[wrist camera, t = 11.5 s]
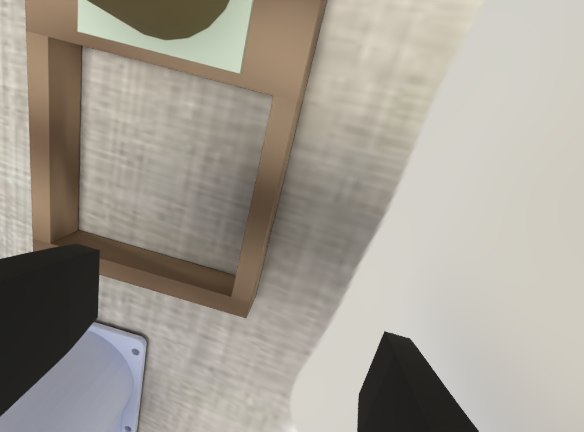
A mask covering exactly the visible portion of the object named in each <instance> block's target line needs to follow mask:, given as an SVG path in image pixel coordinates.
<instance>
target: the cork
mask: <svg viewBox="0 0 584 432" xmlns="http://www.w3.org/2000/svg"><path fill="white" fill-rule="evenodd" d="M87 1H89V2H91V3H92V4H94V5H95V6H97V7H99V8H100V9H102V10H104V11H105V12H107V13H109V14H110V15H112V16H114V17H115V18H117V19H119V20H120V21H122V22H124V23H125V24H127V25H129V26H130V27H132V28H134V29H135V30H137V31H139V32H140V33H142V34H144V35H147V36H151V37H155V38H158V39H162V40H176V39H185V38H189V37H191V36H193V35H195V34H197V33H199V32H201V31H203V30H205V29H207V28H209V27H210V26H211V24H212V23H213V22H214V21H215V20H216V19H217V18H218V17H219V16H220V15H221V14H222V13H223V11H224V10H225V9H226V7H227V5H228V3H229V1H230V0H87Z"/></svg>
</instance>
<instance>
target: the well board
mask: <svg viewBox="0 0 584 432" xmlns="http://www.w3.org/2000/svg"><path fill="white" fill-rule="evenodd" d="M326 2H327V0H230V1H229V3H228V5H227V7H226V9H225V10H224V11H223V13H222V14H221V15H220V16H219V17H218V18H217V19H216V20H215V21H214V22H213V23H212V24H211V26H210V27H209V28H207V29H205V30H203V31H201V32H199V33H197V34H195V35H193V36H191V37H189V38H185V39H176V40H162V39H158V38H155V37H151V36H147V35H144V34H142V33H140V32H139V31H137V30H135V29H134V28H132V27H130V26H129V25H127V24H125V23H124V22H122V21H120V20H119V19H117V18H115V17H114V16H112V15H110V14H109V13H107V12H105V11H104V10H102V9H100V8H99V7H97V6H95V5H94V4H92V3H91V2H89V1H87V0H25V10H26V41H27V73H28V104H29V135H30V167H31V198H32V229H33V252H34V251H39V250H43V249H48V248H53V247H59V246H64V245H71V244H80V245H84V246H87V247H91V248H94V249H98V250H100V263H99V275H102V276H106V277H109V278H113V279H116V280H119V281H123V282H126V283H129V284H133V285H136V286H140V287H143V288H146V289H150V290H153V291H156V292H160V293H163V294H167V295H170V296H173V297H177V298H180V299H183V300H187V301H190V302H193V303H197V304H200V305H204V306H207V307H210V308H214V309H217V310H220V311H224V312H227V313H231V314H234V315H237V316H241V317H244V318H247V315H248V313H249V311H250V309H251V306H252V304H253V302H254V299H255V297H256V293H257V289H258V285H259V280H260V276H261V272H262V268H263V264H264V260H265V256H266V251H267V247H268V243H269V239H270V235H271V231H272V226H273V222H274V218H275V214H276V210H277V206H278V201H279V197H280V193H281V189H282V185H283V181H284V177H285V172H286V168H287V164H288V160H289V156H290V152H291V147H292V143H293V139H294V135H295V131H296V127H297V123H298V118H299V114H300V110H301V106H302V102H303V98H304V93H305V89H306V85H307V81H308V77H309V73H310V69H311V64H312V60H313V56H314V52H315V48H316V44H317V39H318V35H319V31H320V27H321V23H322V19H323V15H324V10H325V6H326ZM82 46H86V47H89V48H93V49H97V50H101V51H105V52H108V53H112V54H116V55H120V56H124V57H128V58H131V59H135V60H139V61H143V62H147V63H150V64H154V65H158V66H162V67H166V68H170V69H173V70H177V71H181V72H185V73H189V74H192V75H196V76H200V77H204V78H208V79H212V80H215V81H219V82H223V83H227V84H231V85H234V86H238V87H242V88H246V89H250V90H253V91H257V92H261V93H265V94H269V95H273V96H274V97H273V102H272V107H271V111H270V116H269V121H268V125H267V130H266V135H265V140H264V144H263V149H262V154H261V159H260V163H259V168H258V173H257V178H256V182H255V187H254V192H253V197H252V201H251V206H250V211H249V216H248V220H247V225H246V230H245V235H244V239H243V244H242V249H241V254H240V258H239V263H238V268H237V273H236V276H234V275H231V274H228V273H224V272H221V271H217V270H214V269H210V268H207V267H203V266H200V265H197V264H193V263H190V262H186V261H183V260H179V259H176V258H172V257H169V256H166V255H162V254H159V253H155V252H152V251H148V250H145V249H142V248H138V247H135V246H131V245H128V244H124V243H121V242H117V241H114V240H111V239H107V238H104V237H100V236H97V235H93V234H90V233H87V232H83V231H80V230H78V202H79V152H80V101H81V51H82Z"/></svg>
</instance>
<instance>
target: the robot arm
mask: <svg viewBox="0 0 584 432" xmlns="http://www.w3.org/2000/svg"><path fill="white" fill-rule="evenodd" d="M99 263H100V250H98V249H94V248H91V247H87V246H84V245H80V244H71V245H64V246H59V247H53V248H48V249H43V250H39V251H34V252H30V253H25V254H21V255H16V256H12V257H7V258H3V259H0V432H137V426H138V417H139V408H140V399H141V390H142V382H143V373H144V364H145V355H146V346H147V343H146V340H145V339H144V338H143V337H141V336H138V335H135V334H132V333H129V332H125V331H122V330H119V329H115V328H112V327H109V326H106V325H102V324H99V323H96V322H94V321H95V320H96V319H97V317H98V292H99ZM136 349H137V350H136ZM357 431H358V432H479V431H478V430H477V428H476V427H475V426H474V424H473V423H472V422H471V421H470V419H469V418H468V417H467V415H466V414H465V413H464V411H463V410H462V409H461V407H460V406H459V405H458V403H457V402H456V401H455V399H454V398H453V396H452V395H451V394H450V392H449V391H448V390H447V388H446V387H445V386H444V384H443V383H442V381H441V380H440V379H439V377H438V376H437V374H436V373H435V372H434V371H433V369H432V368H431V366H430V365H429V363H428V362H427V361H426V359H425V358H424V356H423V355H422V354H421V352H420V351H419V350H418V348H417V347H416V346H415V344H414V343H413V342H412V341H411V339H410V338H405V337H402V336H399V335H395V334H392V333H388V332H384V334H383V337H382V339H381V341H380V344H379V346H378V349H377V351H376V354H375V356H374V359H373V361H372V364H371V366H370V368H369V371H368V374H367V376H366V378H365V381H364V383H363V386H362V388H361V391H360V393H359V402H358V428H357Z"/></svg>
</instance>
